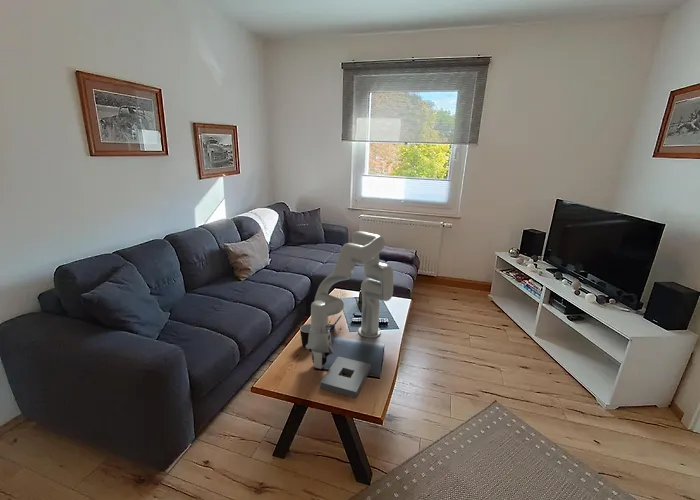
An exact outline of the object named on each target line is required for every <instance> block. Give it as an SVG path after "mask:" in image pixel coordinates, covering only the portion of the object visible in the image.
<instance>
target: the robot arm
mask: <svg viewBox="0 0 700 500" xmlns="http://www.w3.org/2000/svg"><path fill="white" fill-rule="evenodd" d="M351 240H352V241H351V242H346V243H344V244H343V245H342V247H341V249H340V253H339V255H338V258H337V260H336V263H335V266H334V269H333V271H332V273H330V274H328V276H325V278H324V279H323V280H322V281H321V283H320V284H319V286H318V288H317V291H316V293H315V296H314V301H313V302H311V305H310V324H311V329H310V332H309V337H308V343H307V345H306V346H305V347H306V348H307V349H306V350H308V351H309V353H310V355H311V358H312V359H311V360H312V363H313V364H314V351H315V350H316V351H320V352H322V355H323V357H322V365H324V364H325V365H326V363H327V361H328V360H327V357H328V356H330V355H333V354H334V353H335V352H334V349H333V347H332V336H331V333H330V329H331V327H328V324H329V317H330V316H334V315H338V314H340V313H341V312H342V311H343V309H344V307H345V303H344V301H343V300H342V299H340V298H339V297H336V296H334V295H331V294H329V292H330V289H331V288H332V286H333V285H335V284H337V283H338V282H342V281H347V280H350V279H351V277H352V274H353V271H354V269H355V266H356V264H360V265H362V268H363V269H362V271H363V275H364V276H365V277H366V278H365V279H363V281H362V282H361V285H360V292H361V298H362V299H361V300H362V301H361V304H362V305H361V321H360V322H361V325H360V327H358V329H357V331H358V335H360V336H362V337H363V338H368V339H374V338H378V337H379V336H381V335H382V334H381V333H382V330H381V328H380V327H379V324H380V323H379V322H380V307H381V305H380V304H381V303H380V301H382V302H388V301H390V300H391V299H392V296H393V294H394V270H393V267H392V266H391V265H390V264H388V263H385V262H381V260H380V253H381V252H382V251H383V250H384V247H385V245H386V244H385V243H386V242H385V238H384V237H383V236H382V235H379V234H377V233H371V232H367V231H362V230H357V231H354V232H353V233H352V236H351ZM325 365H324V366H325Z"/></svg>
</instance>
